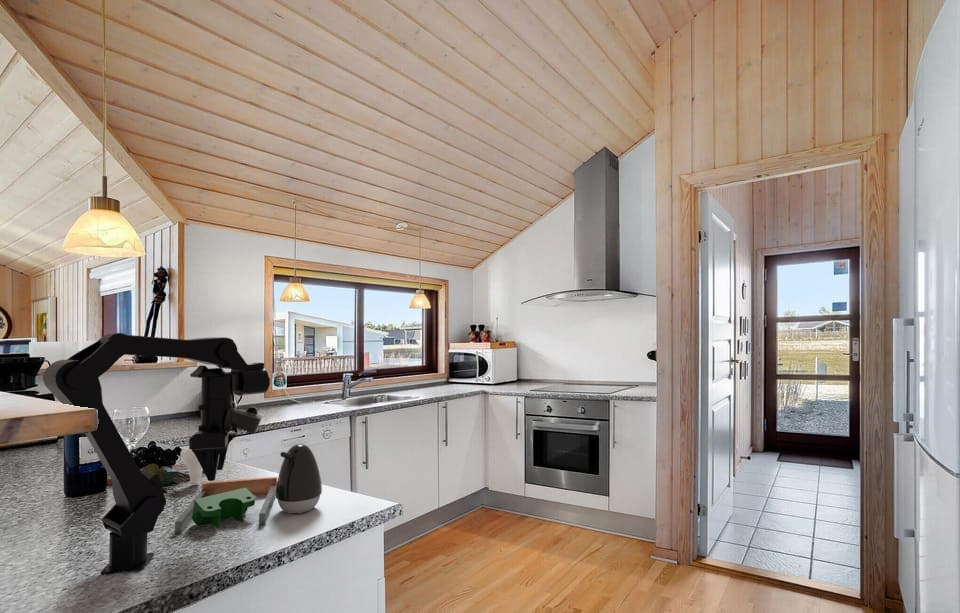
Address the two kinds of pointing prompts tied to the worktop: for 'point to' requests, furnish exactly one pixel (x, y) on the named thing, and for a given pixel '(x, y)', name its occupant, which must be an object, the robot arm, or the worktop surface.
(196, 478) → the lightbulb
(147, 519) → the robot arm
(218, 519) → the clamp
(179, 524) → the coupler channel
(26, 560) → the worktop surface
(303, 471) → the pump dispenser
